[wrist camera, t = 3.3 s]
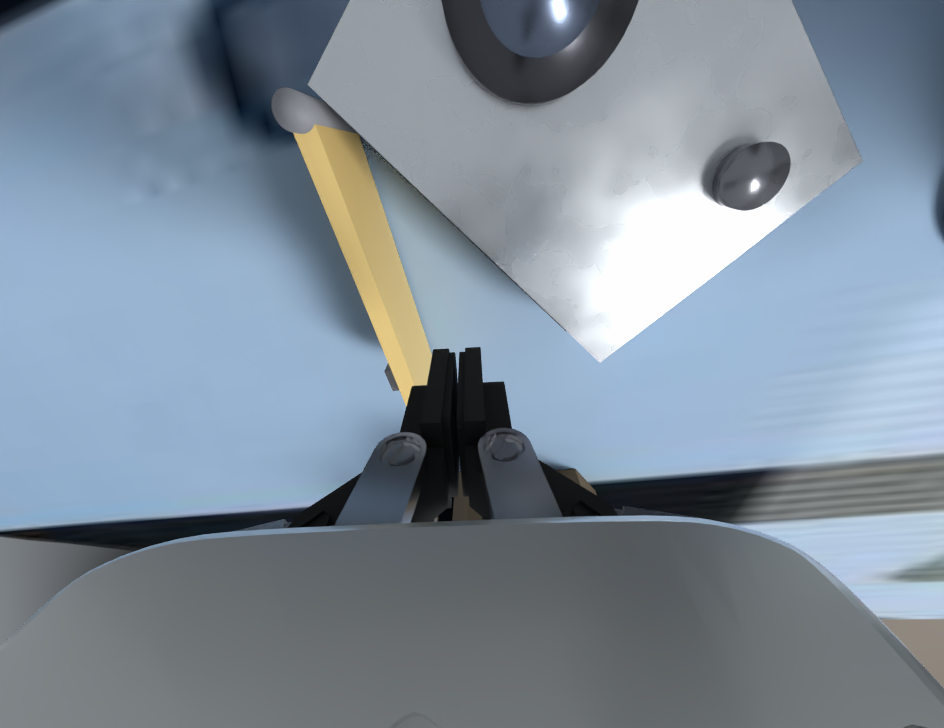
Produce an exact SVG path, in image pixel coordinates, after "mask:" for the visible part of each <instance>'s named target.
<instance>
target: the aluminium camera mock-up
mask: <svg viewBox="0 0 944 728" xmlns="http://www.w3.org/2000/svg"><path fill="white" fill-rule="evenodd" d="M308 86H309V87H311V88H312V89H313V90H314V91H315V92H316V93H317V94H318V95H319V96H320V97H321V98H322V99H323V100H324V101H325V103H326V104H327V105H328V106H329V107H330V108H331V109H332V110H333V111H334V112H335V113H336V114H337V115H338V116H340V117H341V118H342V119H343V120H344V121H345V122H346V123H347V124H348V125H349V126H350V127H351V128H352V129H353V130H354V131H355V132H356V133H357V134H359V135H360V136H361V137H362V138H363V139H364V140H365V141H366V142H367V143H368V144H369V145H370V146H371V147H372V148H373V149H374V150H375V151H376V152H378V153H379V154H380V155H381V156H382V157H383V158H384V159H385V160H386V161H387V162H388V163H389V164H390V165H391V166H392V167H393V168H394V169H395V170H396V171H398V172H399V173H400V174H401V175H402V176H403V177H404V178H405V179H406V180H407V181H408V182H409V183H410V184H411V185H412V186H413V187H414V188H415V189H417V190H418V191H419V192H420V193H421V194H422V195H423V196H424V197H425V198H426V199H427V200H428V201H429V202H430V203H431V204H432V205H433V206H434V207H435V208H437V209H438V210H439V211H440V212H441V213H442V214H443V215H444V216H445V217H446V218H447V219H448V220H449V221H450V222H451V223H452V224H453V225H454V226H456V227H457V228H458V229H459V230H460V231H461V232H462V233H463V234H464V235H465V236H466V237H467V238H468V239H469V240H470V241H471V242H472V243H473V244H474V245H476V246H477V247H478V248H479V249H480V250H481V251H482V252H483V253H484V254H485V255H486V256H487V257H488V258H489V259H490V260H491V261H492V262H493V263H495V264H496V265H497V266H498V267H499V268H500V269H501V270H502V271H503V272H504V273H505V274H506V275H507V276H508V277H509V278H510V279H511V280H512V281H513V282H515V283H516V284H517V285H518V286H519V287H520V288H521V289H522V290H523V291H524V292H525V293H526V294H527V295H528V296H529V297H530V298H531V299H532V300H534V301H535V302H536V303H537V304H538V305H539V306H540V307H541V308H542V309H543V310H544V311H545V312H546V313H547V314H548V315H549V316H550V317H551V318H552V319H554V320H555V321H556V322H557V323H558V324H559V325H560V326H561V327H562V328H563V329H564V330H565V331H567V332H568V333H569V334H570V335H572V336H573V337H574V338H575V339H576V340H577V341H578V342H579V343H580V344H581V345H582V346H583V347H584V348H585V349H586V350H587V351H588V352H589V353H590V354H592V355H593V356H594V357H595V358H596V359H597V360H598V361H599V362H601V361H603V360H604V359H605V358H607V357H608V356H609V355H611V354H612V353H613V352H614V351H616V350H617V349H618V348H620V347H621V346H622V345H624V344H625V343H626V342H627V341H629V340H630V339H631V338H633V337H634V336H635V335H637V334H638V333H639V332H640V331H642V330H643V329H644V328H646V327H647V326H648V325H650V324H651V323H652V322H654V321H655V320H656V319H657V318H659V317H660V316H661V315H663V314H664V313H665V312H667V311H668V310H669V309H670V308H672V307H673V306H674V305H676V304H677V303H678V302H680V301H681V300H682V299H683V298H685V297H686V296H687V295H689V294H690V293H691V292H693V291H694V290H695V289H696V288H698V287H699V286H700V285H702V284H703V283H704V282H706V281H707V280H708V279H710V278H711V277H712V276H713V275H715V274H716V273H717V272H719V271H720V270H721V269H723V268H724V267H725V266H726V265H728V264H729V263H730V262H732V261H733V260H734V259H736V258H737V257H738V256H739V255H741V254H742V253H743V252H745V251H746V250H747V249H749V248H750V247H751V246H752V245H754V244H755V243H756V242H758V241H759V240H760V239H762V238H763V237H764V236H766V235H767V234H768V233H769V232H771V231H772V230H773V229H775V228H776V227H777V226H779V225H780V224H781V223H782V222H784V221H785V220H786V219H788V218H789V217H790V216H792V215H793V214H794V213H795V212H797V211H798V210H799V209H801V208H802V207H803V206H805V205H806V204H807V203H808V202H810V201H811V200H812V199H814V198H815V197H816V196H818V195H819V194H820V193H822V192H823V191H824V190H825V189H827V188H828V187H829V186H831V185H832V184H833V183H835V182H836V181H837V180H838V179H840V178H841V177H842V176H844V175H845V174H846V173H848V172H849V171H850V170H851V169H853V168H854V167H855V166H857V165H858V164H859V163H861V162H862V161H863V160H862V158H861V156H860V153H859V151H858V149H857V147H856V144H855V142H854V140H853V138H852V135H851V133H850V131H849V129H848V126H847V124H846V122H845V120H844V117H843V115H842V113H841V111H840V108H839V106H838V104H837V102H836V99H835V97H834V95H833V93H832V90H831V88H830V86H829V84H828V81H827V79H826V77H825V74H824V72H823V70H822V68H821V65H820V63H819V61H818V59H817V56H816V54H815V52H814V50H813V47H812V45H811V43H810V41H809V38H808V36H807V34H806V32H805V29H804V27H803V25H802V23H801V20H800V18H799V16H798V14H797V11H796V9H795V7H794V5H793V2H792V0H350V1H349V3H348V5H347V7H346V9H345V11H344V13H343V15H342V17H341V19H340V21H339V23H338V25H337V27H336V29H335V31H334V33H333V35H332V37H331V39H330V41H329V43H328V45H327V47H326V49H325V51H324V53H323V55H322V57H321V59H320V61H319V63H318V65H317V67H316V69H315V71H314V73H313V75H312V77H311V79H310V81H309V83H308Z"/></svg>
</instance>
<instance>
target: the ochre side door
mask: <svg viewBox="0 0 944 728" xmlns="http://www.w3.org/2000/svg"><path fill="white" fill-rule="evenodd" d="M271 107H272V112H273V115H274V117H275V119H276V121H277V122H278V123H279V125H280V126H281V127H282V128H284V129H285V130H287V131H289V132H292V133H293V134H294V136H295V139H296V141H297V143H298V146H299V148H300V151H301V153H302V155H303V158H304V160H305V163H306V165H307V168H308V170H309V172H310V175H311V177H312V180H313V182H314V184H315V187H316V189H317V192H318V194H319V197H320V199H321V201H322V204H323V206H324V209H325V211H326V213H327V216H328V218H329V221H330V223H331V226H332V228H333V230H334V233H335V235H336V238H337V240H338V242H339V245H340V247H341V250H342V252H343V255H344V257H345V259H346V262H347V264H348V267H349V269H350V271H351V274H352V276H353V279H354V281H355V284H356V286H357V288H358V291H359V293H360V296H361V298H362V300H363V303H364V305H365V308H366V310H367V313H368V315H369V317H370V320H371V322H372V325H373V327H374V329H375V332H376V334H377V337H378V339H379V342H380V344H381V346H382V349H383V351H384V354H385V356H386V358H387V361H388V365H387V367H386V369H385V374H386V376H387V378H388V381H389V383H390V385H391V388H392V390H393V391H397V390H400V392H401V395H402V397H403V400H404V402H405V404H406V407H407V403H408V399H409V395H410V391H411V388H412V386H419V385H427V380H428V375H429V370H430V365H431V359H432V354H431V351H430V348H429V345H428V342H427V339H426V336H425V333H424V330H423V327H422V324H421V321H420V318H419V315H418V312H417V309H416V306H415V303H414V300H413V297H412V294H411V291H410V288H409V284H408V281H407V278H406V275H405V272H404V269H403V266H402V263H401V260H400V257H399V254H398V251H397V248H396V245H395V242H394V239H393V236H392V233H391V230H390V227H389V224H388V221H387V218H386V215H385V212H384V209H383V206H382V203H381V200H380V197H379V194H378V191H377V188H376V185H375V182H374V179H373V176H372V173H371V170H370V167H369V164H368V161H367V158H366V155H365V152H364V149H363V146H362V143H361V140H360V137H359V134H357V133H356V132H355V131H354V130H353V129H352V128H351V127H350V126H349V125H348V124H347V123H346V122H345V121H344V120H343V119H342V118H341V117H340V116H338V115H337V114H336V113H335V112H334V111H333V110H332V109H331V108H330V107H329V106H328V105H327V104H326V103H325V101H323V100H320V99H317V98H315V97H312V96H310V95H307V94H304V93H302V92H299V91H297V90H294V89H292V88H288V87H282V88H279V89H278V90H276V91H275V93H274V94H273V97H272V101H271Z"/></svg>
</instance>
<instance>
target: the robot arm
mask: <svg viewBox="0 0 944 728" xmlns="http://www.w3.org/2000/svg"><path fill="white" fill-rule="evenodd" d="M459 456H460V467H461V477H462V488H463V497H467V496H469V506H470V507H471V508H472V509H473V510H474V511H476V512H477V513H478V514H479V515H480V516H482V520H468V521H441V522H438V515H440V514H441V513H442V512H443V511H444V510H445V509H446V508H451V504H452V497H458V487H459ZM0 728H944V688H943V687H942V686H941V685H940V683H939V682H938V681H937V680H936V679H935V678H934V677H933V676H932V675H931V674H930V673H929V671H928V670H927V669H926V668H925V667H924V666H923V665H922V664H921V663H920V662H919V661H918V659H917V658H916V657H915V656H914V655H913V654H912V653H911V652H910V651H909V650H908V648H907V647H906V646H905V645H904V644H903V643H902V642H901V641H900V640H899V639H898V638H897V637H896V636H895V635H894V634H893V633H892V632H891V631H890V630H889V629H888V627H887V626H886V625H885V624H884V623H883V622H882V621H881V620H880V619H879V618H878V617H877V616H876V615H875V614H874V613H873V612H872V611H871V610H870V609H869V608H868V607H867V606H866V605H865V604H864V603H863V602H862V601H861V600H860V599H859V598H858V597H857V596H856V595H855V594H854V593H853V592H852V591H851V590H850V589H849V588H848V587H847V586H845V585H844V584H843V583H842V582H841V581H840V580H839V579H838V578H837V577H835V576H834V575H833V574H832V573H831V572H830V571H828V570H827V569H826V568H825V567H823V566H822V565H821V564H820V563H819V562H817V561H816V560H814V559H813V558H812V557H810V556H809V555H807V554H806V553H804V552H803V551H801V550H799V549H797V548H796V547H794V546H792V545H790V544H788V543H786V542H784V541H781V540H779V539H777V538H774V537H772V536H769V535H766V534H763V533H761V532H758V531H754V530H750V529H747V528H743V527H740V526H736V525H733V524H729V523H724V522H718V521H713V520H707V519H702V518H696V517H690V516H683V515H677V514H671V513H665V512H659V511H652V510H646V509H640V508H634V507H627V506H623V510H618V509H614V508H613V507H612V506H611V505H610V504H609V503H607V502H606V501H605V500H603V499H602V498H600V497H599V496H597V495H595V494H594V493H592V492H590V491H589V490H587V489H585V488H584V487H582V486H580V485H579V484H577V483H575V482H574V481H572V480H571V479H569V478H567V477H566V476H564V475H562V474H561V473H559V472H557V471H556V470H554V469H552V468H551V467H549V466H547V465H546V464H544V463H542V462H541V461H539V460H538V459H537V456H536V454H535V452H534V449H533V447H532V445H531V443H530V441H529V439H528V438H527V436H525V435H524V434H523V433H521V432H519V431H517V430H515V429H512V427H511V421H510V415H509V409H508V403H507V397H506V391H505V385H504V382H484V383H483V379H482V364H481V349H480V347H474V348H465V352H460V353H459V374H458V380H457V369H456V357H455V352H453V353H450V352H449V349H434V350H433V354H432V359H431V365H430V370H429V375H428V380H427V385H419V386H412V388H411V391H410V395H409V399H408V403H407V407H406V411H405V415H404V418H403V422H402V426H401V430H400V433H396V434H392V435H390V436H388V437H386V438H384V439H383V440H382V441H381V442H379V444H378V445H377V446H376V448H375V449H374V451H373V453H372V455H371V457H370V459H369V461H368V462H367V464H366V466H365V468H364V470H363V472H362V473H361V474H359V475H357V476H356V477H354V478H353V479H351V480H350V481H348V482H347V483H345V484H344V485H342V486H341V487H339V488H338V489H336V490H335V491H333V492H332V493H330V494H329V495H327V496H326V497H324V498H322V499H321V500H319V501H318V502H316V503H315V504H313V505H312V506H310V507H309V508H307V509H306V510H304V511H303V512H302V513H300V514H299V515H298V516H297V517H295V518H294V520H293V521H292V522H290V523H287V522H286V520H285V519H284V520H280V521H275V522H271V523H267V524H263V525H259V526H254V527H250V528H246V529H242V530H238V531H234V532H225V533H215V534H205V535H199V536H193V537H187V538H181V539H177V540H173V541H169V542H165V543H161V544H156V545H152V546H149V547H146V548H143V549H140V550H138V551H135V552H132V553H129V554H126V555H124V556H121V557H119V558H116V559H114V560H112V561H109V562H107V563H105V564H103V565H101V566H99V567H97V568H95V569H93V570H91V571H89V572H87V573H86V574H84V575H82V576H81V577H79V578H78V579H76V580H75V581H73V582H72V583H70V584H69V585H68V586H67V587H65V588H64V589H63V590H61V591H60V592H59V593H58V594H57V595H55V596H54V597H53V598H52V599H50V600H49V601H48V602H47V603H46V604H45V605H43V606H42V607H41V608H40V609H39V610H38V611H37V612H36V613H34V614H33V615H32V616H31V617H30V618H29V619H28V620H27V621H26V622H25V623H24V624H23V625H22V626H21V627H20V628H19V629H17V631H15V632H14V633H13V634H12V635H11V636H10V637H9V638H8V639H7V640H6V641H5V642H4V643H3V644H2V645H1V646H0Z"/></svg>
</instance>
